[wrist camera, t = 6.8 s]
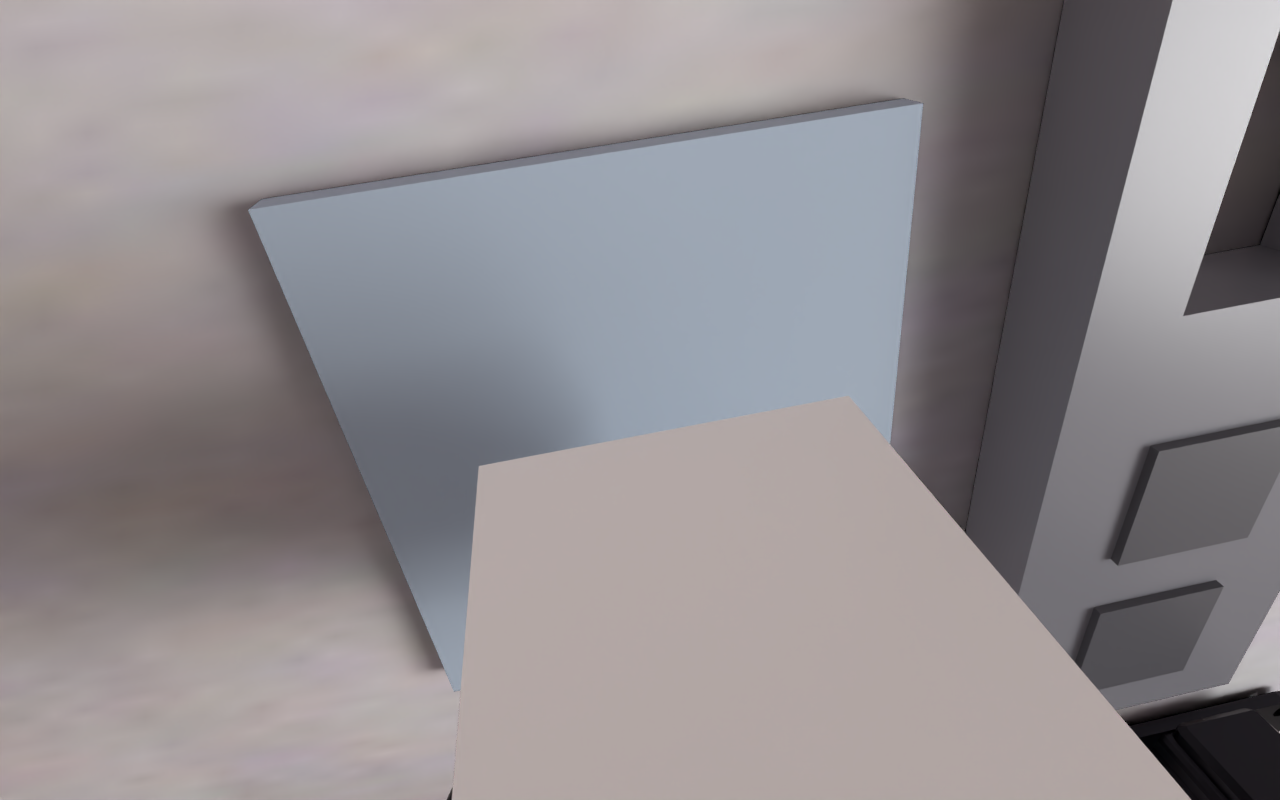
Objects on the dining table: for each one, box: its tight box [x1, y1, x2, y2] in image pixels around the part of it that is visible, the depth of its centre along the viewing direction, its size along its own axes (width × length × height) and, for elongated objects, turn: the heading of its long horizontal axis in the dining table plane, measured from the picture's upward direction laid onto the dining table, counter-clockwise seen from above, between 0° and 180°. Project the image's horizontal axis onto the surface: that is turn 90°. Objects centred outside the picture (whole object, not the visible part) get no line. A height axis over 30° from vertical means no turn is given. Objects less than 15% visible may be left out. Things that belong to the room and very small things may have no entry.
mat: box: [248, 98, 923, 692], centre depth 13 cm, size 11×10×1 cm
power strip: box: [965, 0, 1280, 710], centre depth 12 cm, size 24×7×3 cm, turn 6°
